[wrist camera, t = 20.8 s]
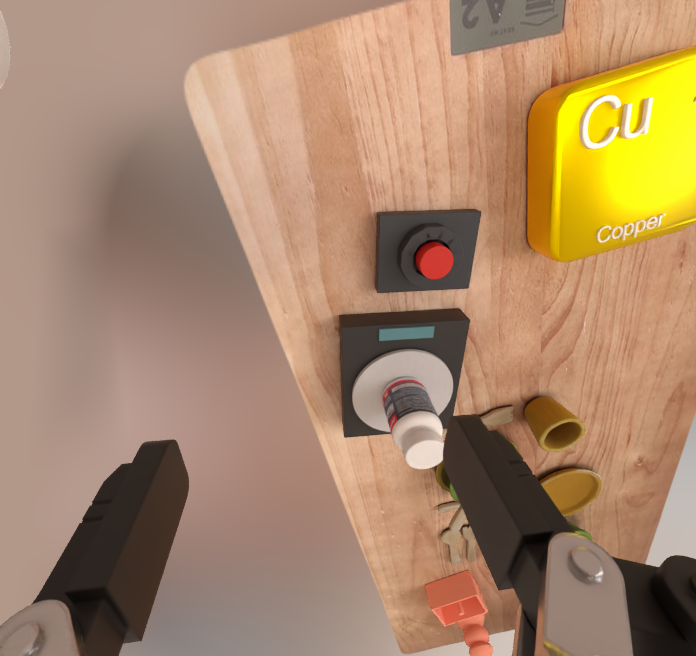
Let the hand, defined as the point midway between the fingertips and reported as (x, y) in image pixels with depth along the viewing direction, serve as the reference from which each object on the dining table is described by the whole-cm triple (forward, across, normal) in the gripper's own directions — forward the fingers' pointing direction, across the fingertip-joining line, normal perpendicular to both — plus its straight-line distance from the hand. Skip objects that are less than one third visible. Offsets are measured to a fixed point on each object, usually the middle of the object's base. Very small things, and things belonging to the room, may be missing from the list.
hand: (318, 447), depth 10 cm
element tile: (+26, -29, -6) cm, 40 cm away
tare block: (+27, -12, +2) cm, 29 cm away
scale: (+27, -10, +17) cm, 33 cm away
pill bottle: (+23, -10, +18) cm, 31 cm away
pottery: (+26, -28, +78) cm, 87 cm away
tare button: (+24, -12, +2) cm, 27 cm away
